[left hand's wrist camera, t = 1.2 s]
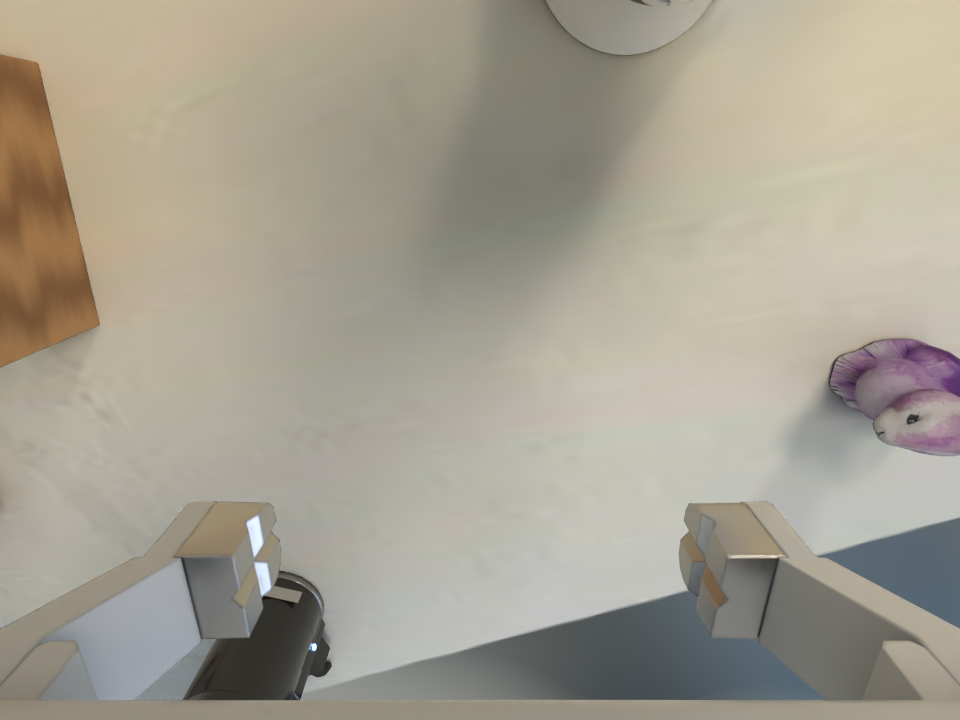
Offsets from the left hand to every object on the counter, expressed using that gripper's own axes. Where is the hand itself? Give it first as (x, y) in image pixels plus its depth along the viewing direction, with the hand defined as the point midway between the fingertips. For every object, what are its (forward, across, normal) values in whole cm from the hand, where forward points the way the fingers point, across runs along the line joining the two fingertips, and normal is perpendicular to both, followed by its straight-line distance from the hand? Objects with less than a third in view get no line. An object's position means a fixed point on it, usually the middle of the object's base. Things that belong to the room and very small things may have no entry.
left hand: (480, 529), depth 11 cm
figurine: (+39, -38, +13) cm, 56 cm away
